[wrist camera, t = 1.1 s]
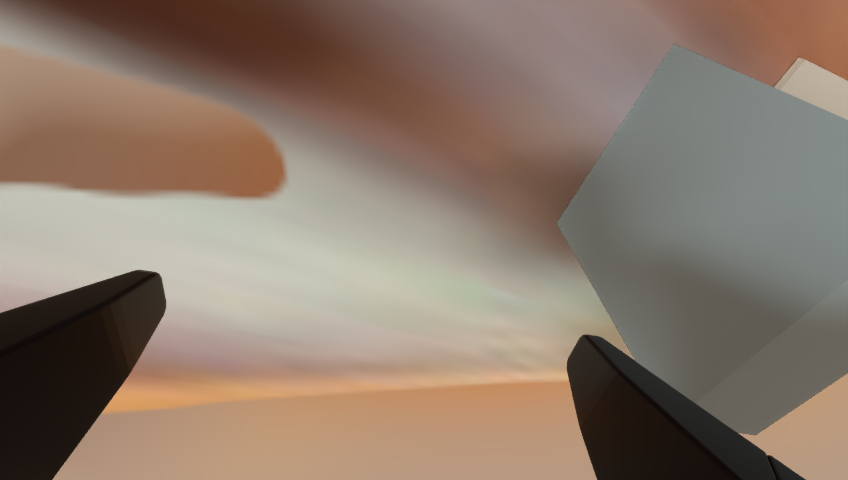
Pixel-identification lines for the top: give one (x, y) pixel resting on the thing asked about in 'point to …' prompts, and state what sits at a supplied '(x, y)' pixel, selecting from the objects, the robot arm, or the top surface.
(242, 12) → the top surface
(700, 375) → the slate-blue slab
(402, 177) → the top surface
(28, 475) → the robot arm
